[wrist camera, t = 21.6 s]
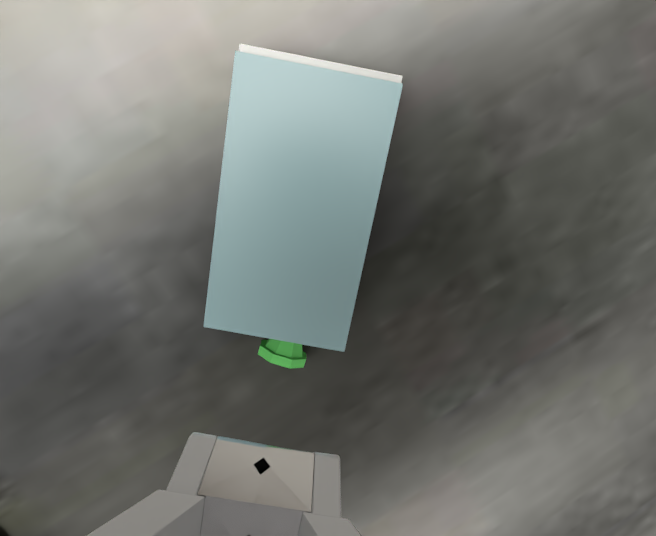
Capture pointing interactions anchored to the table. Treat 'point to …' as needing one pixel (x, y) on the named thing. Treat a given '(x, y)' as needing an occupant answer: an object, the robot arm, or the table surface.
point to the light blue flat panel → (297, 199)
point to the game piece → (283, 353)
